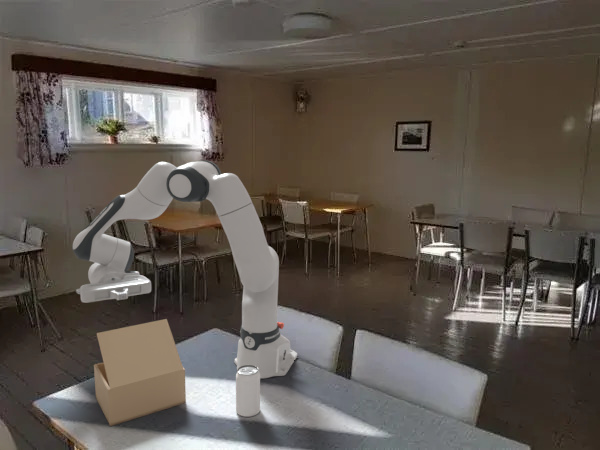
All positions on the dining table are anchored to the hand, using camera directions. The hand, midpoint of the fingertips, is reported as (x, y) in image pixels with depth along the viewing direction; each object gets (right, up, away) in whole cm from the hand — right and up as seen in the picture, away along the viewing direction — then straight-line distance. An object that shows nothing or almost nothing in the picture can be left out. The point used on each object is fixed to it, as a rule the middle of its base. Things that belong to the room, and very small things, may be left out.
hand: (122, 296), depth 137 cm
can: (+37, -29, -10) cm, 49 cm away
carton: (+7, -28, -6) cm, 29 cm away
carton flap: (+8, -13, -10) cm, 19 cm away
